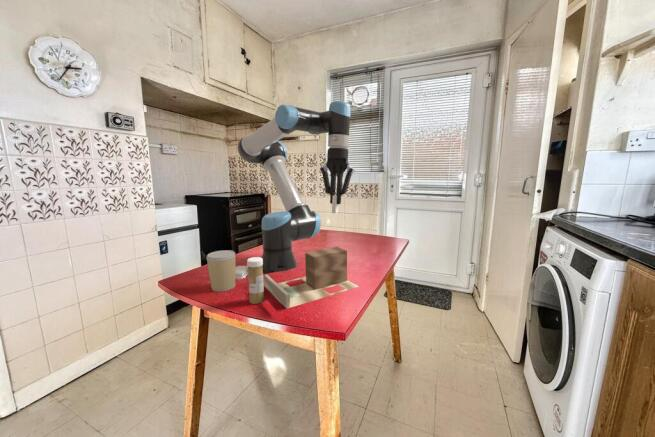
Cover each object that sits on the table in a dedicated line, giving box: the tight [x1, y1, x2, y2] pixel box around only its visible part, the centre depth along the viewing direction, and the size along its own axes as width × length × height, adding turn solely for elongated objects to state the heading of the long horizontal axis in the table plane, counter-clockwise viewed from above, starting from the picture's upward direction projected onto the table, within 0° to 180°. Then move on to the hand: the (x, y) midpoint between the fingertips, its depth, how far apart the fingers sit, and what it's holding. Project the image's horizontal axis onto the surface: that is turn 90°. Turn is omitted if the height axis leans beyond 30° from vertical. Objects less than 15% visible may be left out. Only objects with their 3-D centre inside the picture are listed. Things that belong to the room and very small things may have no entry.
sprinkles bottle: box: [246, 256, 265, 305], centre depth 78 cm, size 5×5×13 cm
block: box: [304, 246, 348, 290], centre depth 88 cm, size 13×6×11 cm, turn 123°
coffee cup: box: [205, 249, 237, 293], centre depth 89 cm, size 9×9×12 cm
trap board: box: [263, 274, 360, 310], centre depth 85 cm, size 26×18×6 cm
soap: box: [235, 265, 249, 280], centre depth 101 cm, size 9×7×3 cm
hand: (335, 212), depth 97 cm, fingers closed
